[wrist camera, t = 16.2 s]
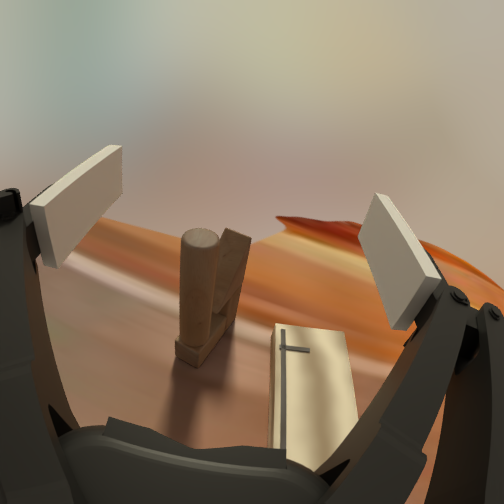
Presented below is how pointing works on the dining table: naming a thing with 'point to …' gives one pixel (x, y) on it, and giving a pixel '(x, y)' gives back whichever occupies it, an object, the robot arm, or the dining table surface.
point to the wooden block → (208, 289)
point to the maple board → (309, 393)
